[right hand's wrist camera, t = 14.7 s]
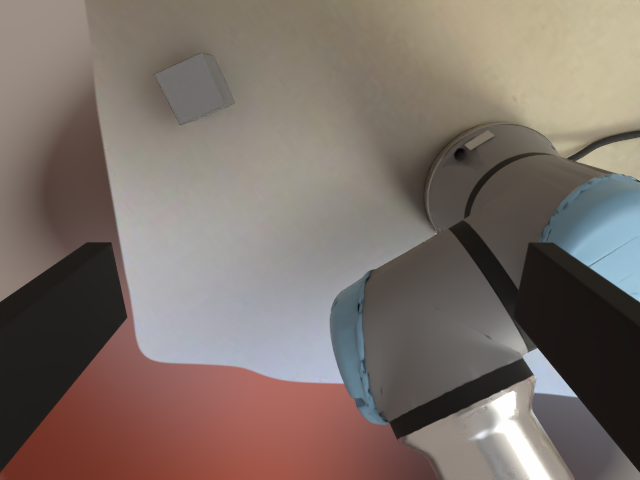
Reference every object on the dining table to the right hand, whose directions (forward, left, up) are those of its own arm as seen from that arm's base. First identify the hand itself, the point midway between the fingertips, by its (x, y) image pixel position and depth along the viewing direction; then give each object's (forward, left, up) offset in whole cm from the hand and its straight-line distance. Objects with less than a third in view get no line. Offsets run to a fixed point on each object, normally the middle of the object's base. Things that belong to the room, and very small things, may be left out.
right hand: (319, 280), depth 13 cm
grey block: (+12, -5, -34) cm, 37 cm away
